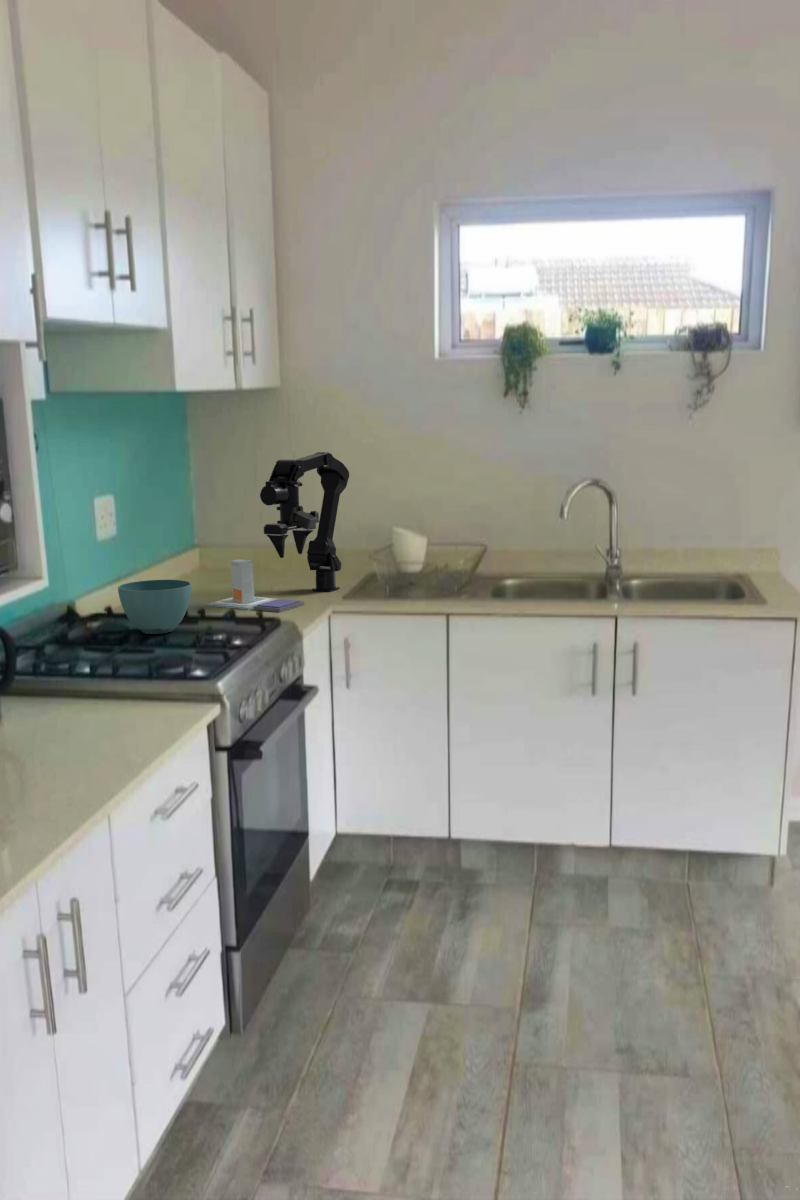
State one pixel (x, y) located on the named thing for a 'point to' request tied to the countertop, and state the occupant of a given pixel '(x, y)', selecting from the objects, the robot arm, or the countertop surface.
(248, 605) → the board
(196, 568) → the countertop surface
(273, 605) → the ink pad
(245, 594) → the skincare box
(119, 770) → the countertop surface
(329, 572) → the robot arm
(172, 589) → the teal bowl
